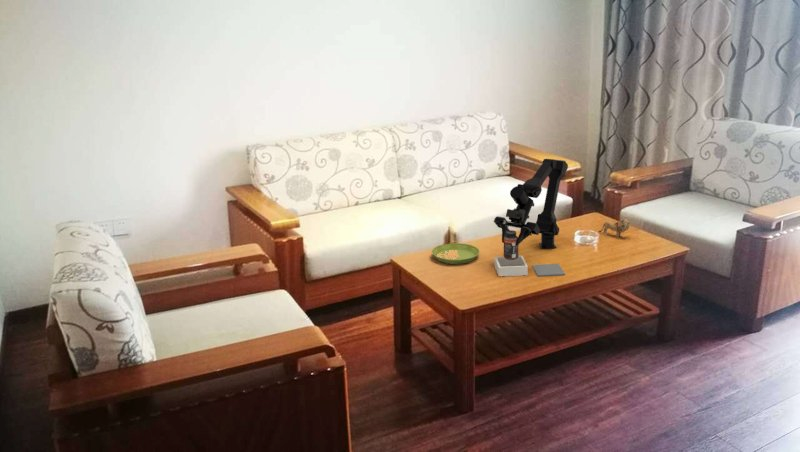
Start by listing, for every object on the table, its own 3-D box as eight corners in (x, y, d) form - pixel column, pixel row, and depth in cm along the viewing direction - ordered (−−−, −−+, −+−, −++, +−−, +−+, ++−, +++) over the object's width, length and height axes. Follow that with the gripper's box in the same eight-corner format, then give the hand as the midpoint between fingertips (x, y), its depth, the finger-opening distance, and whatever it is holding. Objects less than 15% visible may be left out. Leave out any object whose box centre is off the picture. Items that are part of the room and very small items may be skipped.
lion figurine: (630, 237, 303) (632, 219, 301) (625, 241, 300) (627, 222, 297) (600, 231, 313) (601, 213, 310) (595, 234, 309) (596, 216, 306)
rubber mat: (532, 266, 277) (532, 264, 276) (558, 265, 277) (558, 263, 276) (537, 276, 266) (537, 275, 266) (565, 275, 266) (565, 273, 266)
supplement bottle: (518, 260, 268) (518, 234, 265) (503, 260, 269) (503, 234, 266) (518, 255, 274) (518, 229, 270) (504, 255, 275) (504, 229, 271)
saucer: (472, 268, 278) (472, 261, 277) (425, 264, 285) (425, 257, 284) (484, 251, 296) (484, 244, 295) (439, 247, 303) (439, 241, 302)
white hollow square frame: (494, 265, 279) (494, 257, 277) (522, 264, 279) (522, 255, 277) (498, 276, 268) (498, 267, 266) (527, 275, 268) (527, 266, 266)
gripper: (495, 197, 272) (481, 230, 268) (537, 204, 261) (523, 238, 257) (505, 210, 281) (492, 243, 276) (545, 217, 270) (532, 251, 265)
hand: (509, 243), depth 268 cm, fingers closed on supplement bottle, 6 cm apart
